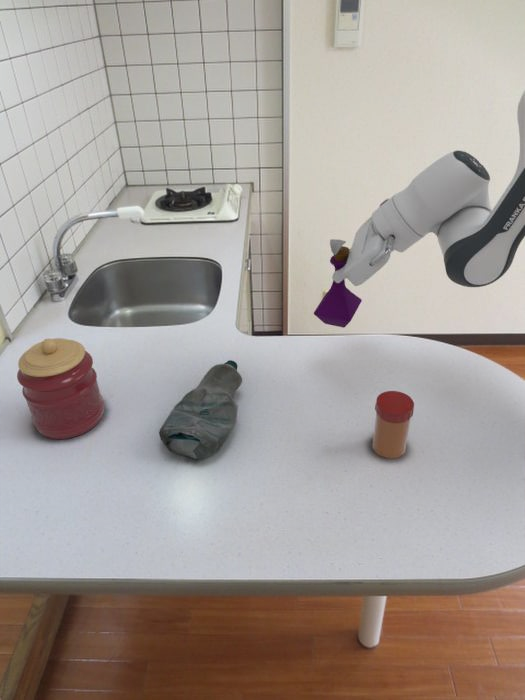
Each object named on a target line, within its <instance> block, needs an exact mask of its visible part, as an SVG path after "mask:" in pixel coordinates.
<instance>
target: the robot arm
mask: <svg viewBox="0 0 525 700" xmlns="http://www.w3.org/2000/svg"><path fill="white" fill-rule="evenodd" d="M516 115H517V116H516V118H517V125H518V134H519V156H518V162H517V166H516V170H515V173H514V175H513V177H512V179H511V181H510V183H508V185H507V186H506V189H505V190H504V191H503V193H502V195H501V196H500V198H499V199H498V201H497V202H496V203H495V205H494V206H493V208H492V205H491V202H490V197H489V183H490V181H491V176H490V174H489V172H488V170H487V169H486V168H485V166H484V165H483V164H482V163H481V162H480V161H479V160H478V159H477V158H476V157H474V156H473V155H472V154H470V153H469V152H466V151H464V150H453V151H451V152H449V153H446V154H444V155H443V156H441V157H440V158H438V159H436V160H435V161H434V162H433V163H431V164H430V165H429V166H427V167H426V168H425V169H424V170H422V171H421V172H420V173H419V174H417V175H416V176H415V177H414V178H413V179H412V180H411V181H410V183H409V185H407V187H405V188H404V189H402V190H401V191H399V192H397V193H395V194H393V195H392V196H391V197H390V198H386V199H384V200H383V201H382V202H381V203H380V204H379V207H378V208H376V209H375V210H374V211H373V212H372V213H371V215H370V217H368V218H367V220H365V222H363V224H362V225H361V226H360V227H359V228H358V229H357V230H356V232H355V234H354V237H353V241H352V244H351V247H350V248H349V249H350V250H349V257H348V260H347V263H346V264H345V266H344V267H343V268H341V269H338V270H337V271H336V272H335V271H334V272H333V274H332V276H331V278H332V281H333V280H334V281H335V282H336V283H340V282H341V281H342V280H344V279H345V280H346V279H347V280H348V281H349V282H350V283H351V284H352V285H353V286H355V287H358V286H361V285H363V284H364V283H366V282H367V281H368V280H369V279H371V278H372V277H373V276H374V275H376V274H377V273H378V272H379V271H380V270H381V269H382V268H383V267H384V266H385V265H386V264H387V263H388V262H389V260H390V259H391V253H393V252H394V251H396V252H398V253H405V252H406V251H407V250H408V249H410V248H411V247H412V246H414V245H415V244H416V243H418V242H419V241H420V240H422V239H423V238H424V237H426V236H427V235H428V234H430V233H433V234H434V236H436V238H437V242H438V245H439V248H440V250H441V251H440V252H441V254H442V256H443V263H444V269H445V273H446V276H447V277H448V279H449V280H450V281H451V282H453V283H454V284H457V285H460V286H462V287H467V288H481V287H486V286H488V285H491V284H494V283H495V282H496V281H498V280H499V279H501V278H502V277H503V276H504V275H505V274H506V273H507V271H508V270H509V269H510V268H511V266H512V264H513V262H514V259H515V256H516V253H517V252H518V248H519V246H520V244H521V243H522V241H523V240H524V238H525V89H524V90H523V92H522V94H521V97H520V98H519V101H518V105H517V113H516Z"/></svg>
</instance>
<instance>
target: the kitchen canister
mask: <svg viewBox="0 0 525 700" xmlns="http://www.w3.org/2000/svg"><path fill="white" fill-rule="evenodd" d="M17 363H18V365H17V366H18V371H17V372H16V373H17V374H16V379H17V382H18V383H19V385H21V387H22V389H21V390H22V391H21V392H22V393H21V394H22V396H23V398H24V399H25V401H26V403H27V406H28V410H29V411H30V414H31V420H32V422H33V423H32V424H33V425H34V427H35V429H36V430H37V431H38V433H39V434H40V435H42V436H44V437H46V438H49V439H55V440H65V439H70V438H75V437H78V436H81V435H83V434H85V433H86V432H89V431H90V430H91V429H93V428H95V426H97V425H98V424H99V422H100V421H101V420H102V418H103V416H104V412H105V410H104V408H105V403H104V399H103V396H102V394H101V391H100V388H99V387H100V386H99V383H98V379H97V378H98V376H97V371H96V370H95V368H94V367H93V365H94V364H93V363H94V361H93V357H92V355H91V354H90V353H89V352H88V351H86V349H85V347H84V345H83V344H82V343H81V342H79V341H77V340H73V339H68V338H60V337H59V338H58V337H57V338H45V339H44V340H42V341H40V342H37V343H36V344H34V345H32V346H31V347H30V348H29V349H28V350H26V351H25V352H24V353H23V354H22V355H21V356H20V357H19V359H18V361H17Z"/></svg>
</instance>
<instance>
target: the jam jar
mask: <svg viewBox="0 0 525 700" xmlns="http://www.w3.org/2000/svg"><path fill="white" fill-rule="evenodd" d="M411 418H412V417H411ZM411 418H410V419H409V420H408V421H406V422H402V423H391V422H388V421H385V420H383V419H381V418H380V417H379V416H378V415H377V413H376V412H375V419H374V421H375V422H374V429H373V435H372V436H373V437H372V445H371V446H372V449H373V451H374V452H375V454H377V455H378V456H380V457H381V458H384V459H392V460H393V459H398V458H400V457H402V456H404V454H405V452H406V448H407V441H408V436H409V430H410V423H411Z"/></svg>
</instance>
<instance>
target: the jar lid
mask: <svg viewBox="0 0 525 700" xmlns="http://www.w3.org/2000/svg"><path fill="white" fill-rule="evenodd" d="M374 407H375V408H374V410H375V414H376V413H377V415H378V416H379V417H380V418H381V419H383V420H385V421H388V422H391V423H402V422H406V421H408V420H409V419H410V418H412V417H413V414H414V410H415V402H414V400H413V398H412V397H411V396H409V395H408V394H406V393H404V392H402V391H398V390H387V391H383V392H381V393H379V395H377V397H376V400H375V404H374ZM410 420H411V419H410Z"/></svg>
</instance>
